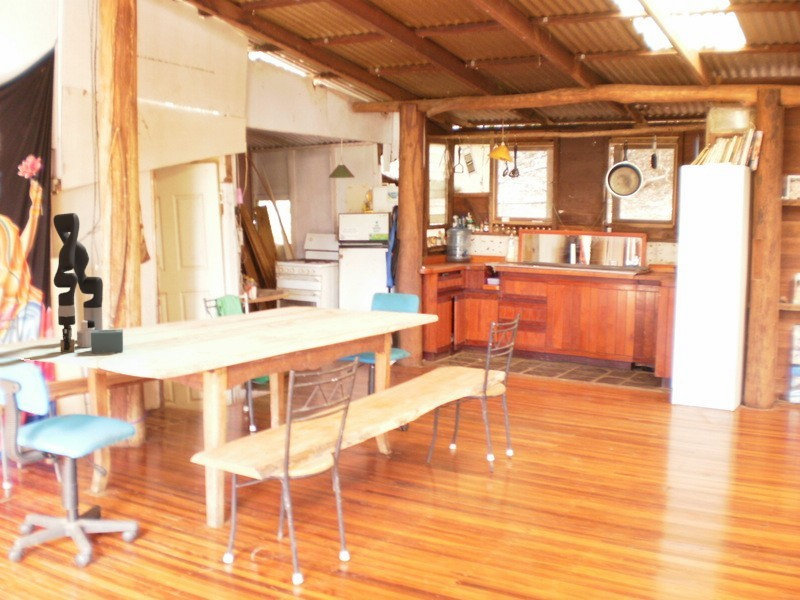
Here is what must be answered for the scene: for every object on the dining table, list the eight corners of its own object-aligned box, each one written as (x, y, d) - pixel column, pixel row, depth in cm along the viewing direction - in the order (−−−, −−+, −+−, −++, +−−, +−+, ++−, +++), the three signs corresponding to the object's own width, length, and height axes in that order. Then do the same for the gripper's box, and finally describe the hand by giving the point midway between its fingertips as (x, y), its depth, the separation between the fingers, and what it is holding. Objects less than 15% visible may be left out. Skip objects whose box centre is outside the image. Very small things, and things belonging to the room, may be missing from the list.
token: (61, 352, 392) (60, 339, 392) (74, 351, 394) (74, 339, 393) (60, 352, 390) (60, 340, 390) (74, 352, 392) (73, 339, 392)
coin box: (92, 350, 399) (92, 330, 398) (123, 349, 403) (122, 329, 402) (91, 353, 390) (90, 332, 389) (122, 352, 394) (122, 332, 393)
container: (91, 344, 417) (90, 319, 416) (99, 346, 412) (98, 320, 411) (76, 346, 411) (76, 320, 410) (85, 347, 406) (84, 321, 405)
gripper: (59, 313, 396) (60, 347, 398) (56, 316, 382) (57, 351, 384) (76, 313, 398) (77, 346, 400) (73, 316, 385) (74, 351, 386)
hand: (67, 349), depth 392 cm, fingers open, 7 cm apart
